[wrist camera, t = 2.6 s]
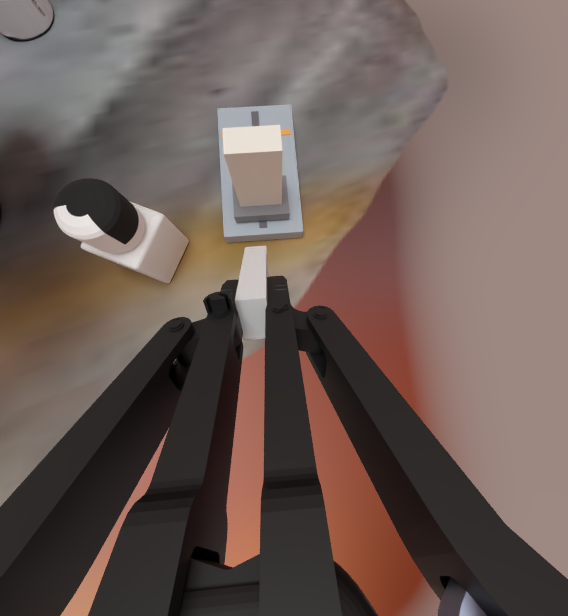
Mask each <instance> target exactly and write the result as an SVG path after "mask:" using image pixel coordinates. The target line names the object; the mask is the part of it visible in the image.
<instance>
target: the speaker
mask: <svg viewBox="0 0 568 616" xmlns="http://www.w3.org/2000/svg"><path fill="white" fill-rule="evenodd" d="M52 21H53V10H52V7H51V5H50V3H49V2H48V0H0V33H1V34H3V35H4V36H6V37H8V38H11V39H13V40H20V41H21V40H31V39H34V38H37V37H39V36H41V35H42V34H44V33H45V32H46V31H47V30H48V29H49V27H50V26H51V24H52Z"/></svg>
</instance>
